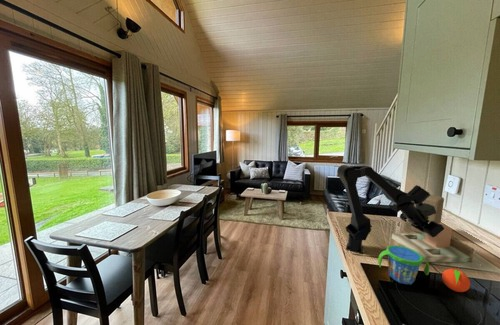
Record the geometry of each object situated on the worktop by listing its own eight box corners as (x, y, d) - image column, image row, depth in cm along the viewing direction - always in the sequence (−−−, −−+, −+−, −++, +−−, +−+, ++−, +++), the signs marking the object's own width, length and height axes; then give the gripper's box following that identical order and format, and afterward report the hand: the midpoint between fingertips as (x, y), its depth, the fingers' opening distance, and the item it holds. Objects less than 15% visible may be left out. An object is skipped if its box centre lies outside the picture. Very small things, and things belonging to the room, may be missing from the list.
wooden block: (439, 233, 114) (444, 197, 111) (433, 238, 108) (438, 200, 105) (417, 226, 122) (421, 192, 119) (410, 230, 116) (414, 195, 114)
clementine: (469, 302, 67) (473, 282, 66) (440, 291, 72) (443, 272, 71) (467, 289, 73) (471, 270, 72) (440, 279, 78) (443, 261, 77)
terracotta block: (436, 247, 95) (438, 228, 93) (424, 240, 101) (427, 222, 99) (449, 247, 95) (452, 228, 93) (437, 240, 101) (440, 222, 99)
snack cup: (421, 275, 80) (425, 249, 78) (433, 294, 70) (437, 266, 69) (374, 265, 85) (376, 241, 84) (379, 282, 76) (382, 255, 74)
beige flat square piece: (423, 261, 88) (425, 248, 87) (391, 238, 108) (392, 226, 107) (471, 262, 88) (473, 248, 87) (430, 238, 108) (432, 227, 107)
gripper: (442, 206, 85) (466, 231, 87) (408, 192, 104) (427, 214, 105) (421, 224, 86) (444, 249, 88) (390, 208, 105) (410, 229, 106)
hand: (431, 234), depth 97 cm, fingers closed
